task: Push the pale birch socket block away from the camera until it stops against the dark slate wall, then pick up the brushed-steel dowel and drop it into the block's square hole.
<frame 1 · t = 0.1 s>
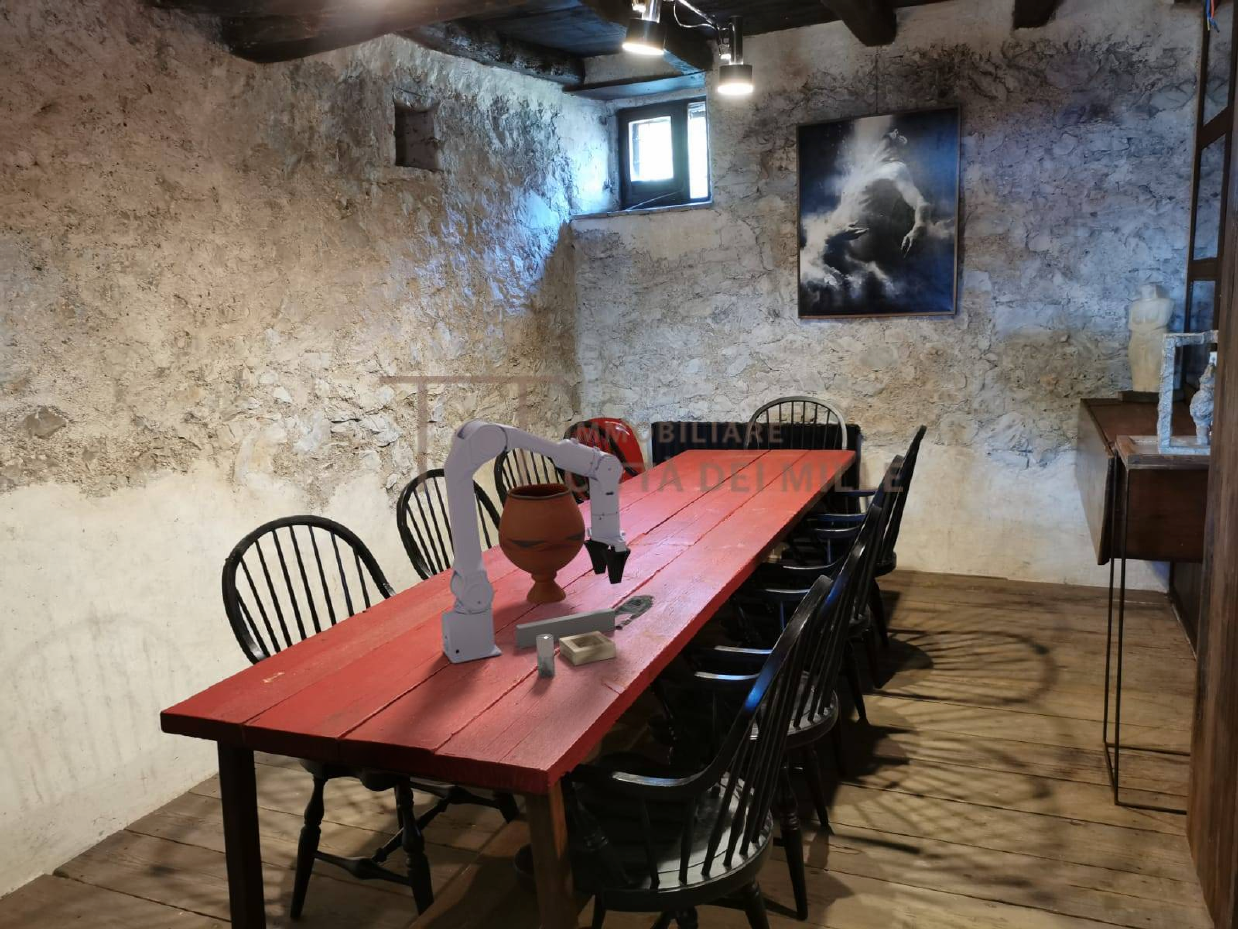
hand: (607, 578, 184), 10 cm above the table, tool pointing down, fingers open, 7 cm apart
socket block: (587, 647, 171), point 1 cm above the table, slide at -5.0 cm
driftwood: (628, 615, 194), on the table
dowel: (546, 674, 162), on the table
backstop wall: (567, 637, 180), on the table
goblet: (545, 598, 205), on the table
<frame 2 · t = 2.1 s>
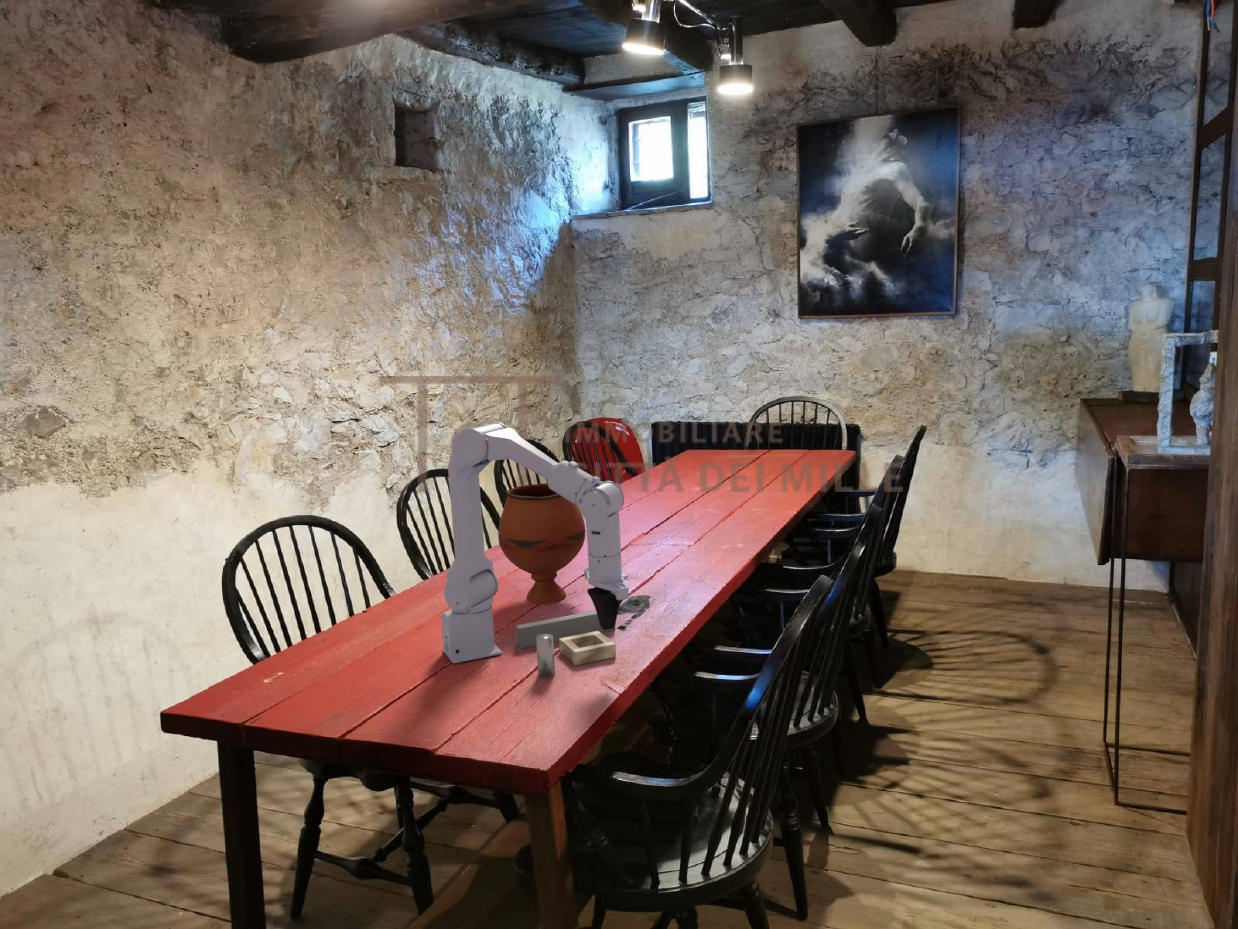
hand: (607, 628, 161), 8 cm above the table, tool pointing down, fingers closed
nothing on the table moved.
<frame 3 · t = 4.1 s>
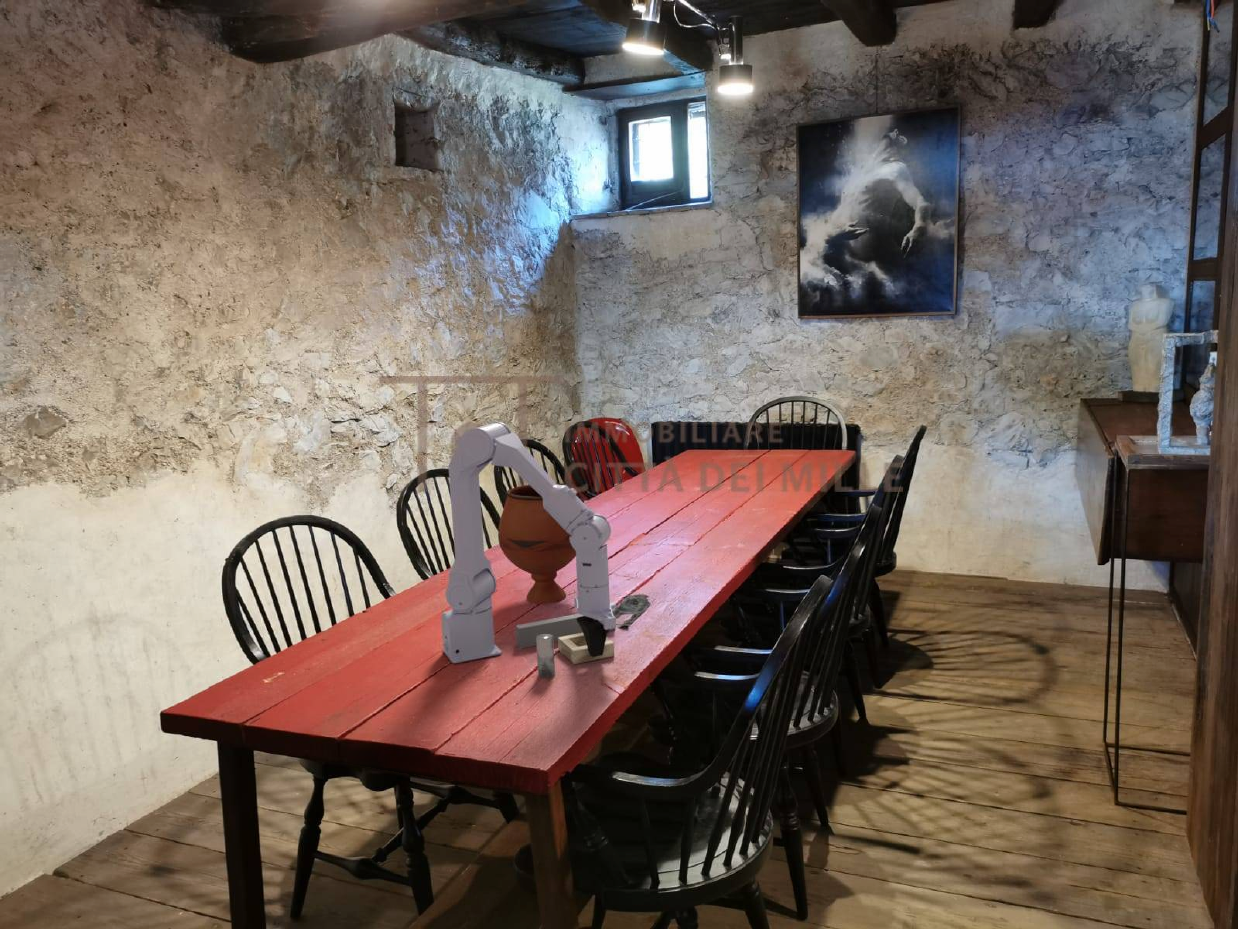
hand: (596, 655, 167), 1 cm above the table, tool pointing down, fingers closed
socket block: (585, 646, 171), point 1 cm above the table, slide at -4.3 cm, touching gripper
everything else where it was.
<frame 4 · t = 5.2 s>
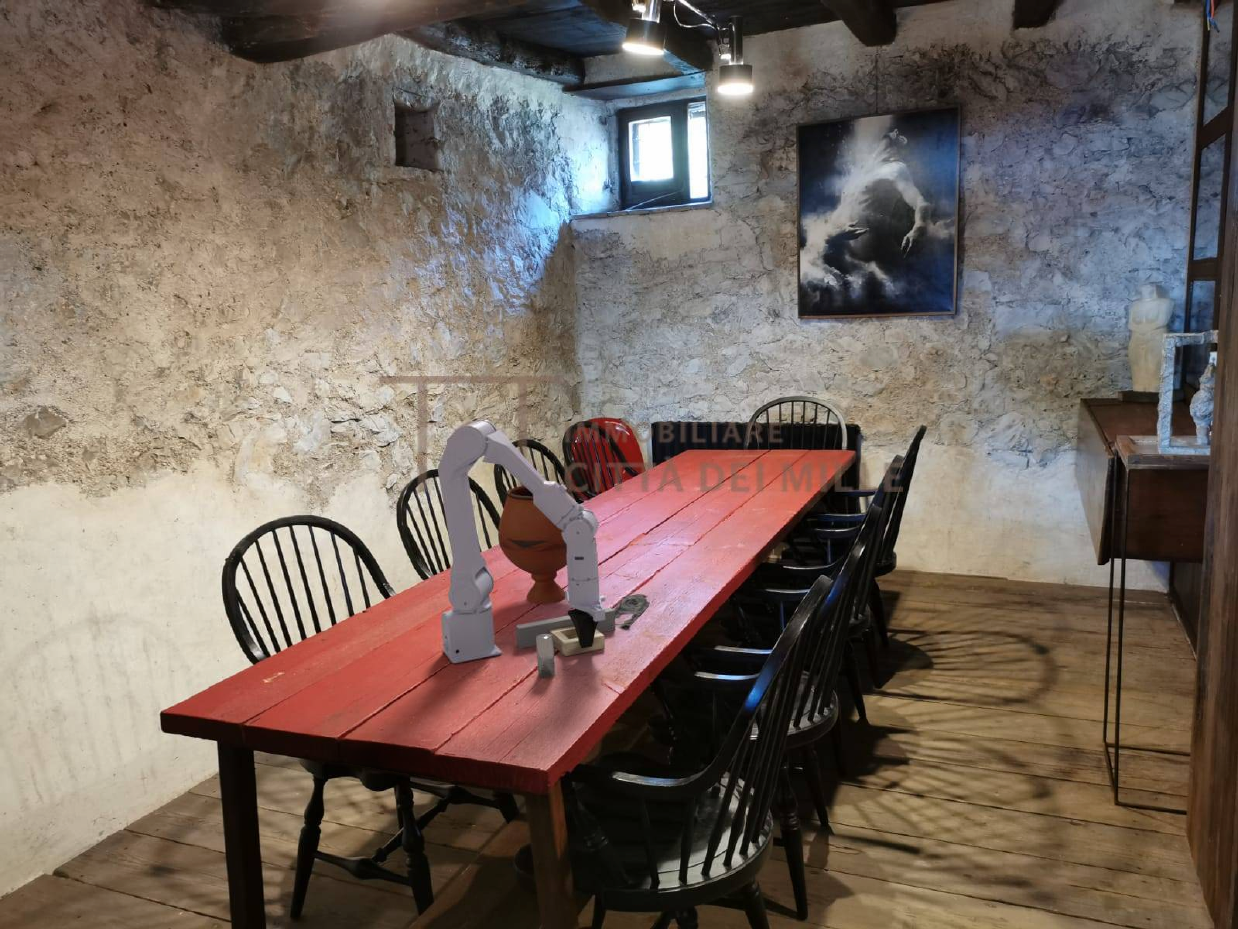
hand: (586, 646, 171), 1 cm above the table, tool pointing down, fingers closed
socket block: (576, 639, 175), point 1 cm above the table, slide at 0.1 cm, touching gripper
everything else where it was.
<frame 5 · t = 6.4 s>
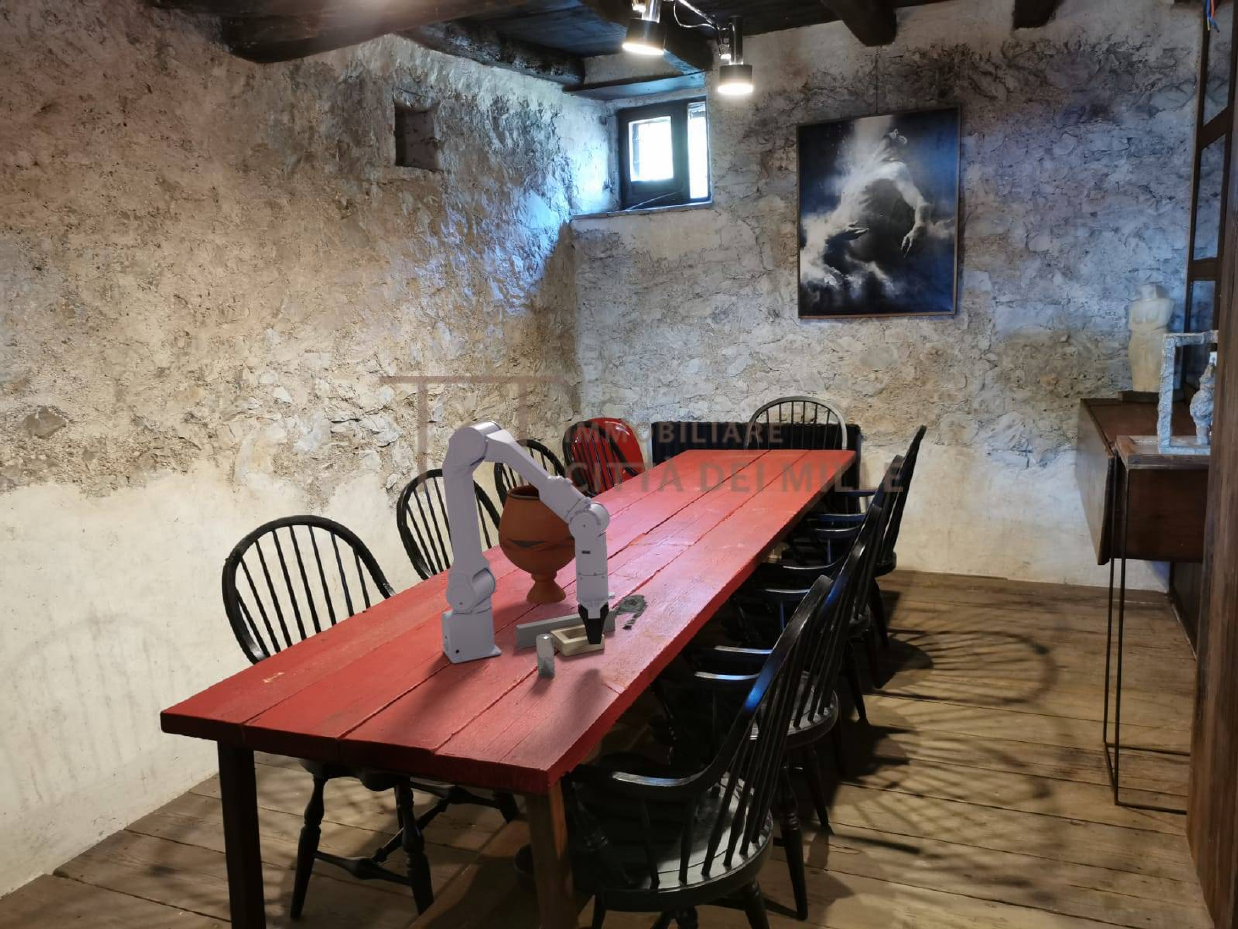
hand: (594, 643, 167), 4 cm above the table, tool pointing down, fingers closed
socket block: (577, 639, 175), point 1 cm above the table, slide at 0.0 cm
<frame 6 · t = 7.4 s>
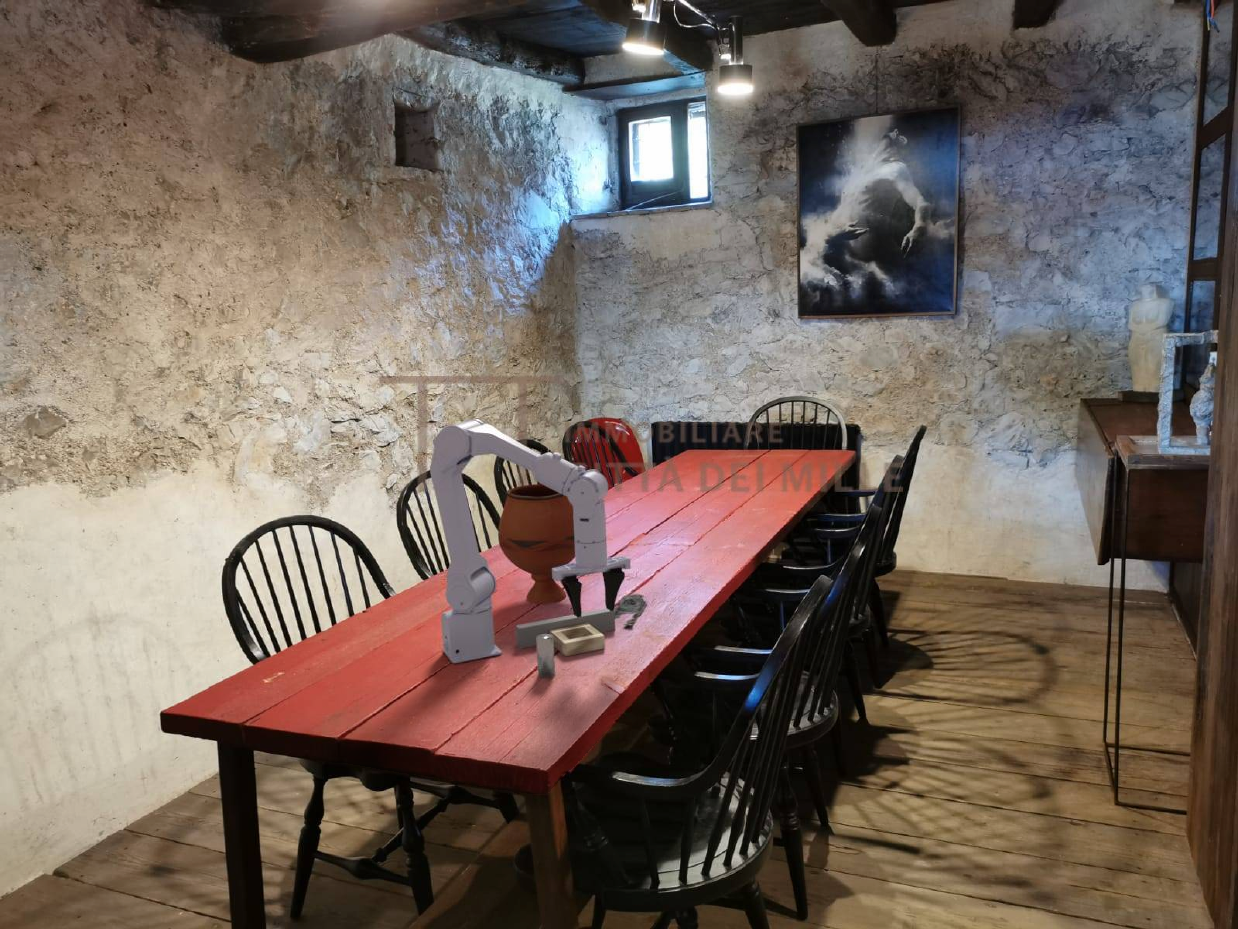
hand: (593, 612, 166), 9 cm above the table, tool pointing down, fingers open, 6 cm apart
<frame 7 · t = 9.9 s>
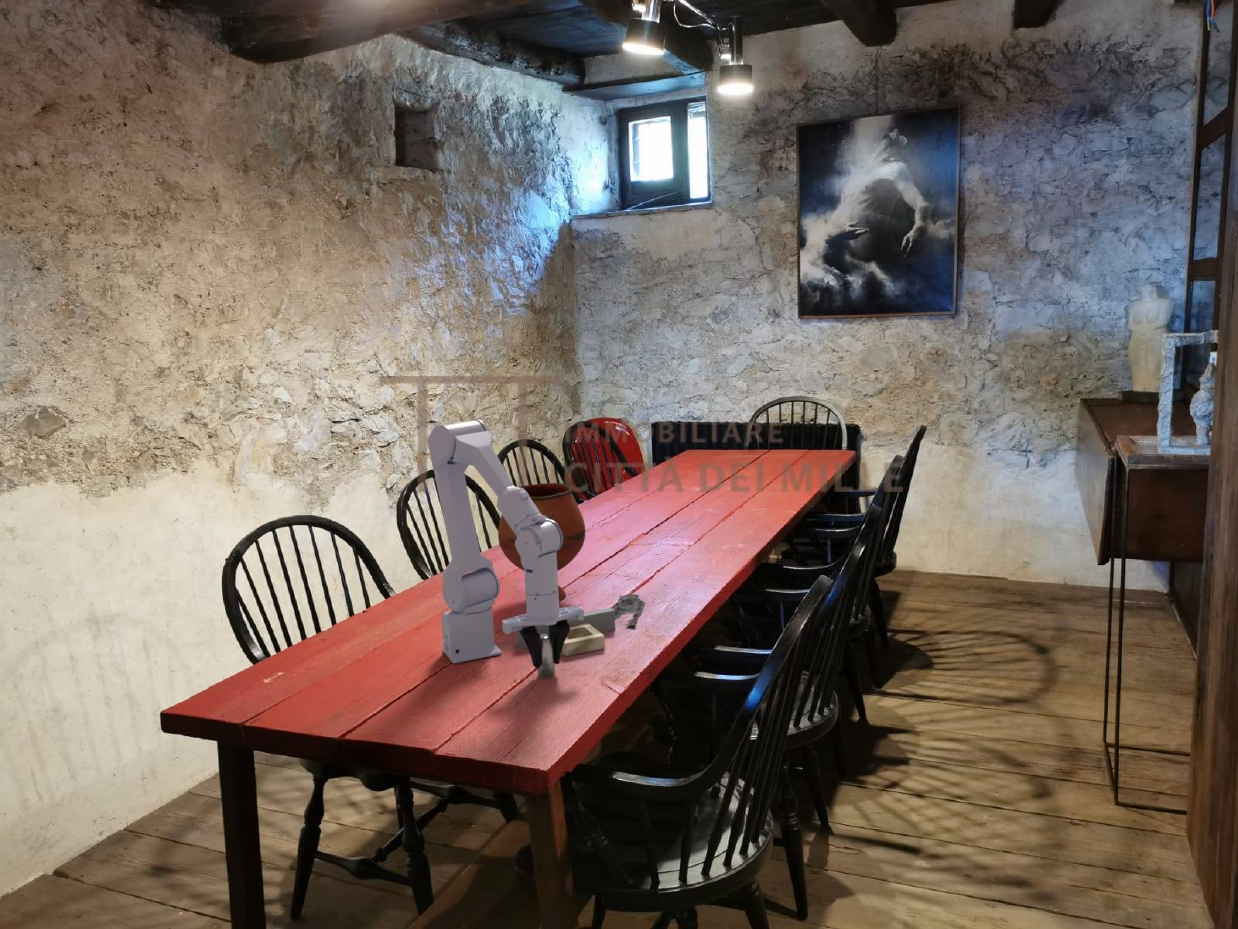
hand: (546, 664, 162), 2 cm above the table, tool pointing down, fingers closed on dowel, 3 cm apart
dowel: (546, 674, 162), on the table, touching gripper
when the fingers open (3 cm above the table, at t = 14.0 s): dowel drops 1 cm, resting in socket block.
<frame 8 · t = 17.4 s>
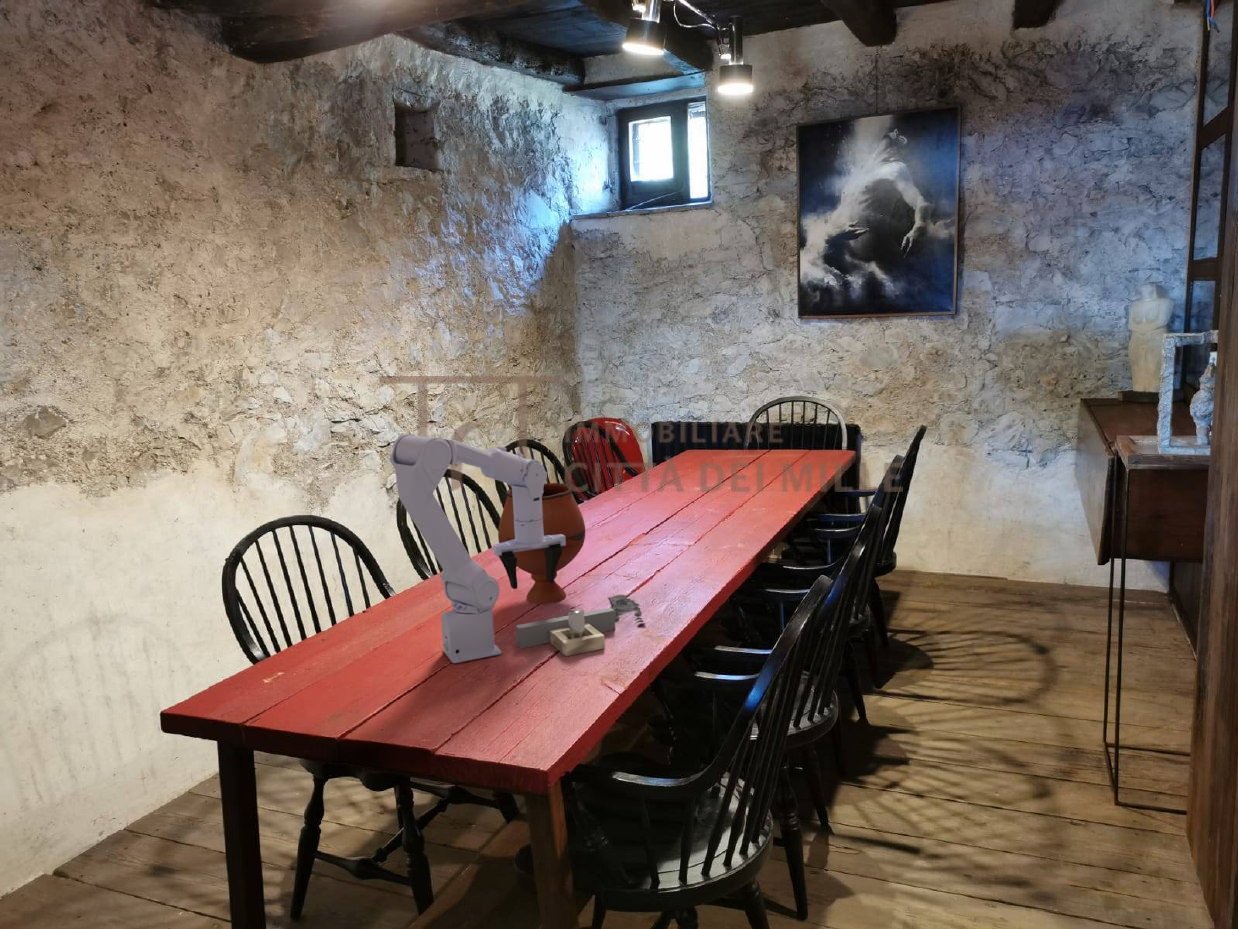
hand: (532, 584, 184), 9 cm above the table, tool pointing down, fingers open, 7 cm apart
dowel: (577, 646, 175), resting in socket block
at the end: socket block slide at 0.0 cm; dowel 0.2 cm off-centre on the socket block, point 0.0 cm above the socket block's base; dowel tilted 0° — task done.
